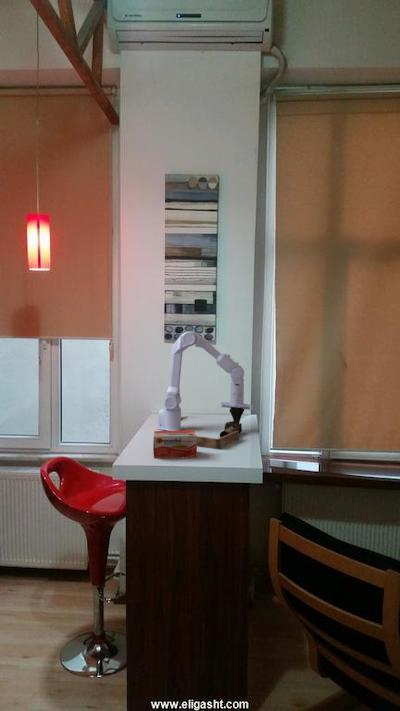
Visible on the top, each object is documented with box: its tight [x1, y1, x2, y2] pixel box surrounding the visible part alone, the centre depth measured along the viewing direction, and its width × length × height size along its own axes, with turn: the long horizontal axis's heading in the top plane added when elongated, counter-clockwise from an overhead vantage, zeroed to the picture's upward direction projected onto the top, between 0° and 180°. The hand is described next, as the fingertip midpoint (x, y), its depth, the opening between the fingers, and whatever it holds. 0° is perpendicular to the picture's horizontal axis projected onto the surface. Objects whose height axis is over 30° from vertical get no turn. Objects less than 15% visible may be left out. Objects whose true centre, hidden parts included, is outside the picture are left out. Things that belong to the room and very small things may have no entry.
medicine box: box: [152, 429, 198, 459], centre depth 173 cm, size 15×8×8 cm, turn 96°
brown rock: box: [219, 420, 243, 438], centre depth 202 cm, size 18×7×6 cm, turn 157°
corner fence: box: [196, 431, 240, 450], centre depth 192 cm, size 13×18×4 cm
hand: (236, 425), depth 212 cm, fingers closed
